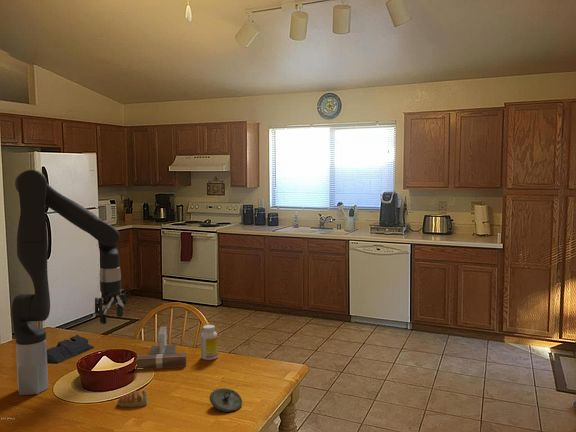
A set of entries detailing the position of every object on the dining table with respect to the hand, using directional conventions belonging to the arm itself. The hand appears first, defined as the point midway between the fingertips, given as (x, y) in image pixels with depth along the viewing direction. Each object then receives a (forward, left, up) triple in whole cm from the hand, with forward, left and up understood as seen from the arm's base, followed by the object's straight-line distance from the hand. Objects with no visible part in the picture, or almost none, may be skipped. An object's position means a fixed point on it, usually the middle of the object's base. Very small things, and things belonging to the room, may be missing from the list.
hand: (111, 320), depth 185 cm
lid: (-38, -41, -19) cm, 60 cm away
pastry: (-32, -13, -19) cm, 39 cm away
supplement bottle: (+5, -36, -19) cm, 41 cm away
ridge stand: (+12, -17, -19) cm, 28 cm away
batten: (-1, -17, -19) cm, 26 cm away
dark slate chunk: (+21, +23, -19) cm, 37 cm away
